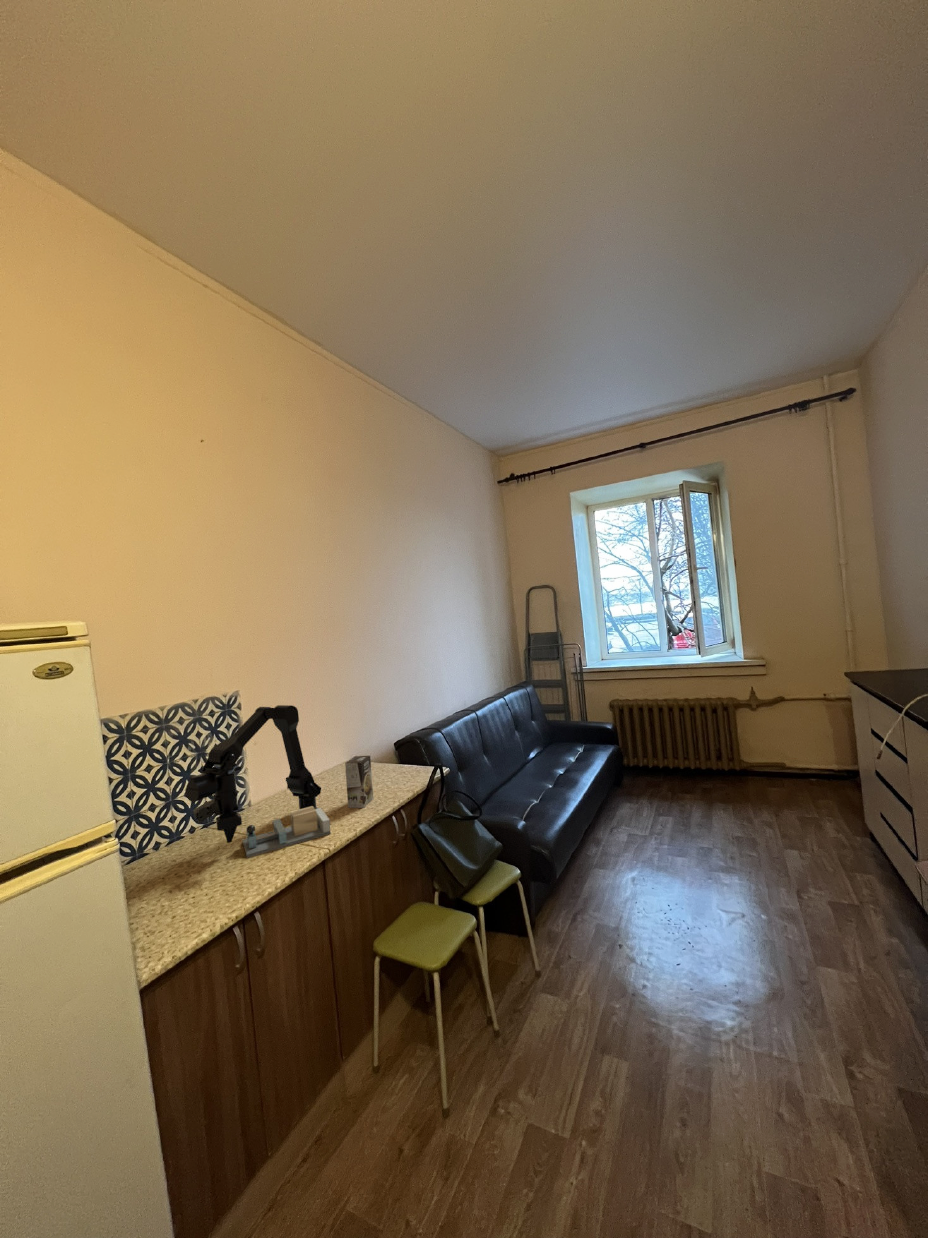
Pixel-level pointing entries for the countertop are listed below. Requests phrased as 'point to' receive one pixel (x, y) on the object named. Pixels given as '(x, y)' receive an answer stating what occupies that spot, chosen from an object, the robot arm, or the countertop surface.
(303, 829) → the oak block
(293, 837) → the vise bed
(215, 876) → the countertop surface
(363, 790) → the coffee box
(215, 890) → the countertop surface
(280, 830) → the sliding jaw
